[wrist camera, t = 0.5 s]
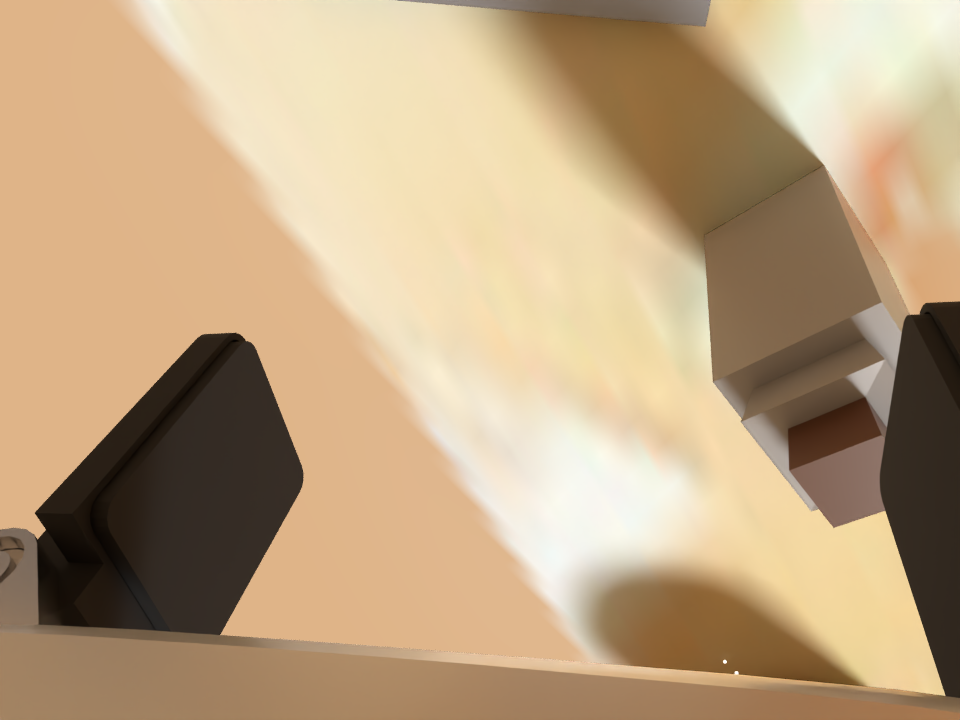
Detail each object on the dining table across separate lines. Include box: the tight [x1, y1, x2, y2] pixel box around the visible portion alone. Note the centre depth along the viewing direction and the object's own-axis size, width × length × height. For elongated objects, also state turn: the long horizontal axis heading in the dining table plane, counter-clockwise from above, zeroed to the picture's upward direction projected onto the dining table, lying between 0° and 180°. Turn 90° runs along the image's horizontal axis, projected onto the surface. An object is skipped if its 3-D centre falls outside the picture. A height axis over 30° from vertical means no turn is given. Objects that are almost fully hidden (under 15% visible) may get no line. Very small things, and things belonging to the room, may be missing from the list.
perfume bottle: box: [704, 165, 910, 527], centre depth 33 cm, size 7×7×18 cm
